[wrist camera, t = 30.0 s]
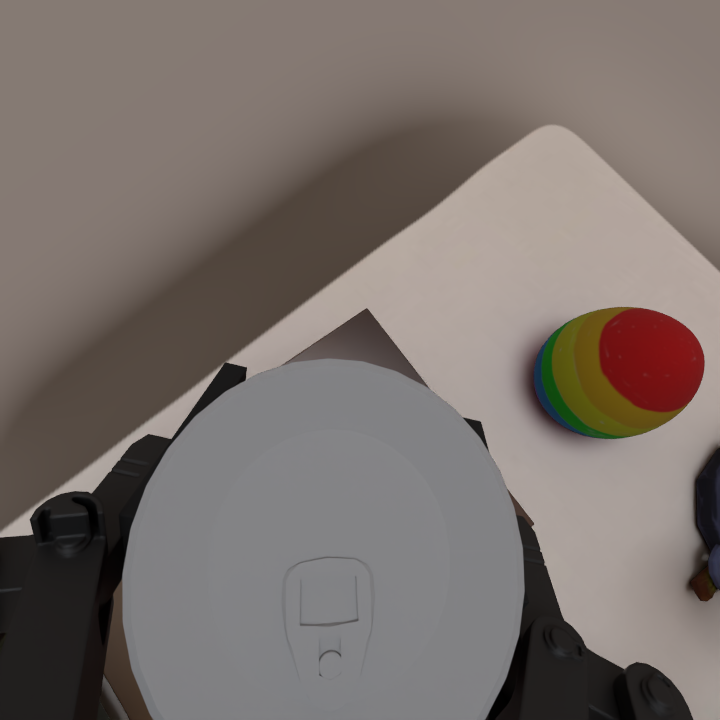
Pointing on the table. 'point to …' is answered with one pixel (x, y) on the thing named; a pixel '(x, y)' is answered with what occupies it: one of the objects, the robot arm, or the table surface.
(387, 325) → the table surface
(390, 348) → the cabinet
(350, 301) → the table surface
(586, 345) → the decorative egg
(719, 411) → the table surface
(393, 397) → the canned food
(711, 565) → the mug
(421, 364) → the table surface
